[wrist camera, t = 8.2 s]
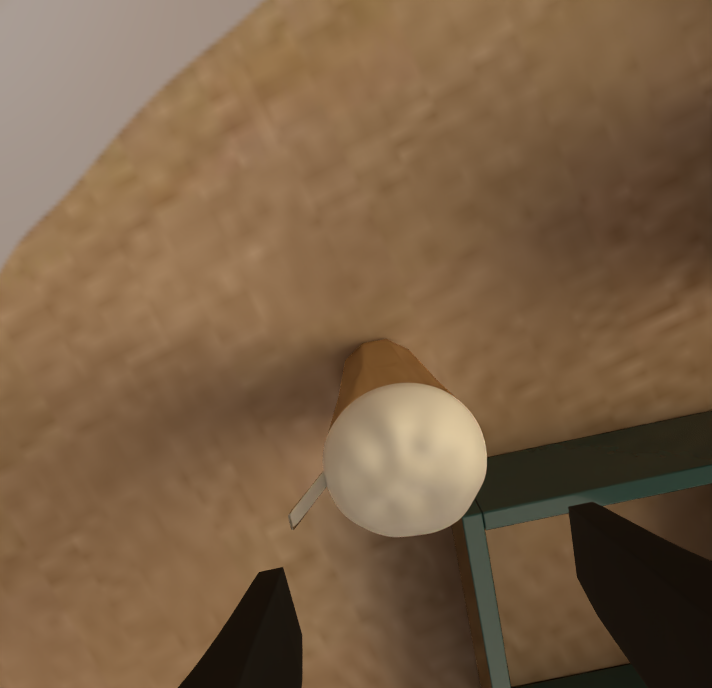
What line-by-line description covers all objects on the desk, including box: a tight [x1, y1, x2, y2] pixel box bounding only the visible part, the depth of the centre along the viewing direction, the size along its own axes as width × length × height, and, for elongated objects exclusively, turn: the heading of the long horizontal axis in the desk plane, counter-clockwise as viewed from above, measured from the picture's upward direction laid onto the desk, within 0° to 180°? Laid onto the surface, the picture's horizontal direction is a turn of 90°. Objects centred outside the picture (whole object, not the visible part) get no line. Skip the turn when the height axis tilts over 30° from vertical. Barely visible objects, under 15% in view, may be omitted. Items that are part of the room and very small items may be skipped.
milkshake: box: [288, 339, 487, 537], centre depth 18 cm, size 5×5×10 cm
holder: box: [451, 411, 712, 688], centre depth 23 cm, size 14×14×4 cm
